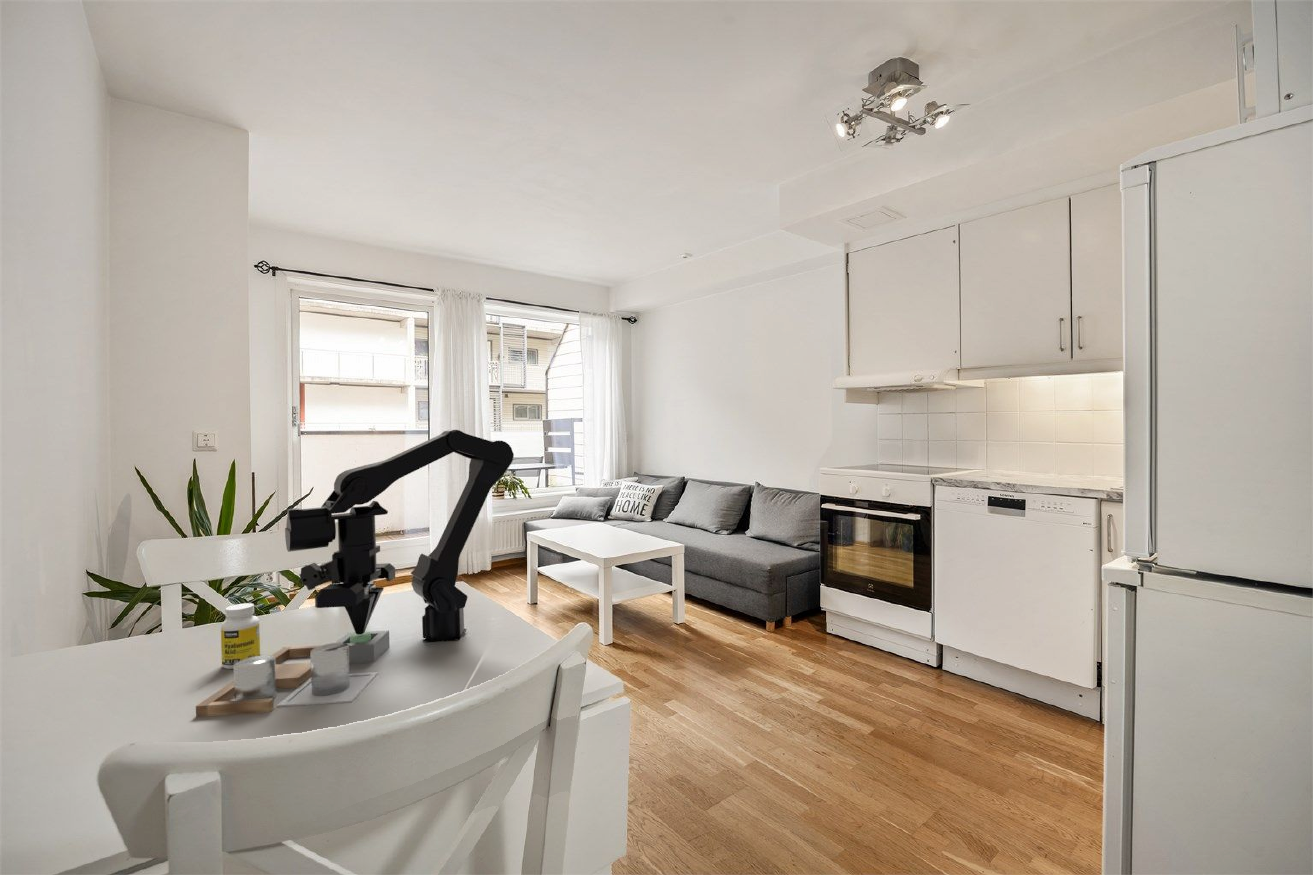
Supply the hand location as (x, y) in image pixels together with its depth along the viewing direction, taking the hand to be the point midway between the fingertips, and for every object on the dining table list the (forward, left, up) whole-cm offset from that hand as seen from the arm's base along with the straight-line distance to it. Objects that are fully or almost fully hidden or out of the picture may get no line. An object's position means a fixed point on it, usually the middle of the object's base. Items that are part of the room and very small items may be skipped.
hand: (360, 633), depth 102 cm
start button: (0, 0, -3) cm, 3 cm away
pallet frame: (+9, +9, -4) cm, 13 cm away
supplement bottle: (+20, -1, -4) cm, 21 cm away
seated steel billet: (+8, +16, -4) cm, 18 cm away
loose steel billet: (-1, +14, -4) cm, 14 cm away
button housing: (0, 0, -4) cm, 4 cm away
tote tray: (-1, +14, -4) cm, 14 cm away
